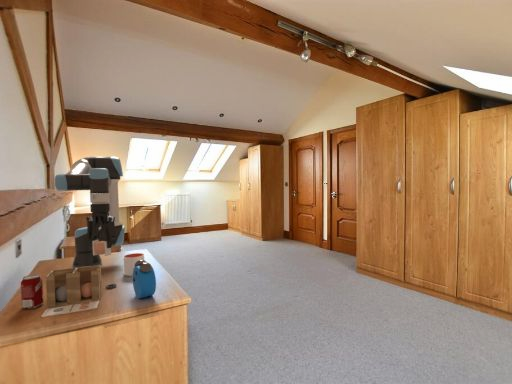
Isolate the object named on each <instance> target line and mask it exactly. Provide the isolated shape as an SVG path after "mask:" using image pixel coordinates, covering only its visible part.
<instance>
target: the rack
mask: <svg viewBox="0 0 512 384" xmlns="http://www.w3.org/2000/svg"><path fill="white" fill-rule="evenodd" d="M102 282H103V281H102V264H101V265H94V266H85V267H76V268H72V267H69V268H61V269H60V268H59V269H53V270H50V272H49V273H48V274H47V275H46V276H45V285H46V286H45V288H46V306H47V308H46V309H49V308H55V307H62V306H68V305H74V304H81V303H86V302H94V301H99V302H100V301H101V298H102V294H103V289H102V287H103V285H102ZM85 283H91V285H92V296H91V297H89V298H84V297H82V296H81V289H80V288H81V286H82V285H84V284H85ZM62 286H67V301H63V302H61V301H58V300H57V299H56V298H55V292H56V290H57V289H58V288H60V287H62Z"/></svg>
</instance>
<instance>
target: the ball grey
mask: <svg viewBox="0 0 512 384" xmlns="http://www.w3.org/2000/svg"><path fill="white" fill-rule="evenodd" d="M55 298H56V299H57V300H58V301H61V302H63V301H67V286H62V287H60V288H58V289H57V290H56V292H55Z"/></svg>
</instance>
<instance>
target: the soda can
mask: <svg viewBox="0 0 512 384" xmlns="http://www.w3.org/2000/svg"><path fill="white" fill-rule="evenodd" d="M43 283H44V282H43V277H41V274H40V273H36V274H29V275H25V276H23V277H22V280H21V281H20V297H21V298H20V299H21V300H20V301H21V308H22V309H25V308H32V309H35V308H34V307H36V308H38V307H40V306H41V305H43V304H44V287H43V285H44V284H43ZM37 306H38V307H37Z"/></svg>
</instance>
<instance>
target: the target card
mask: <svg viewBox="0 0 512 384" xmlns="http://www.w3.org/2000/svg"><path fill="white" fill-rule="evenodd" d="M99 303H100V301H94V302H86V303H81V304H74V305H68V306H62V307H55V308H49V309H47V308H45V311H44V312H43V313H42V315H41V317H40V318H45V317H53V316H58V315H59V316H60V315H64V314H65V315H66V314H72V313H77V312H84V311H89V310H96V309H98V306H99Z"/></svg>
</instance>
